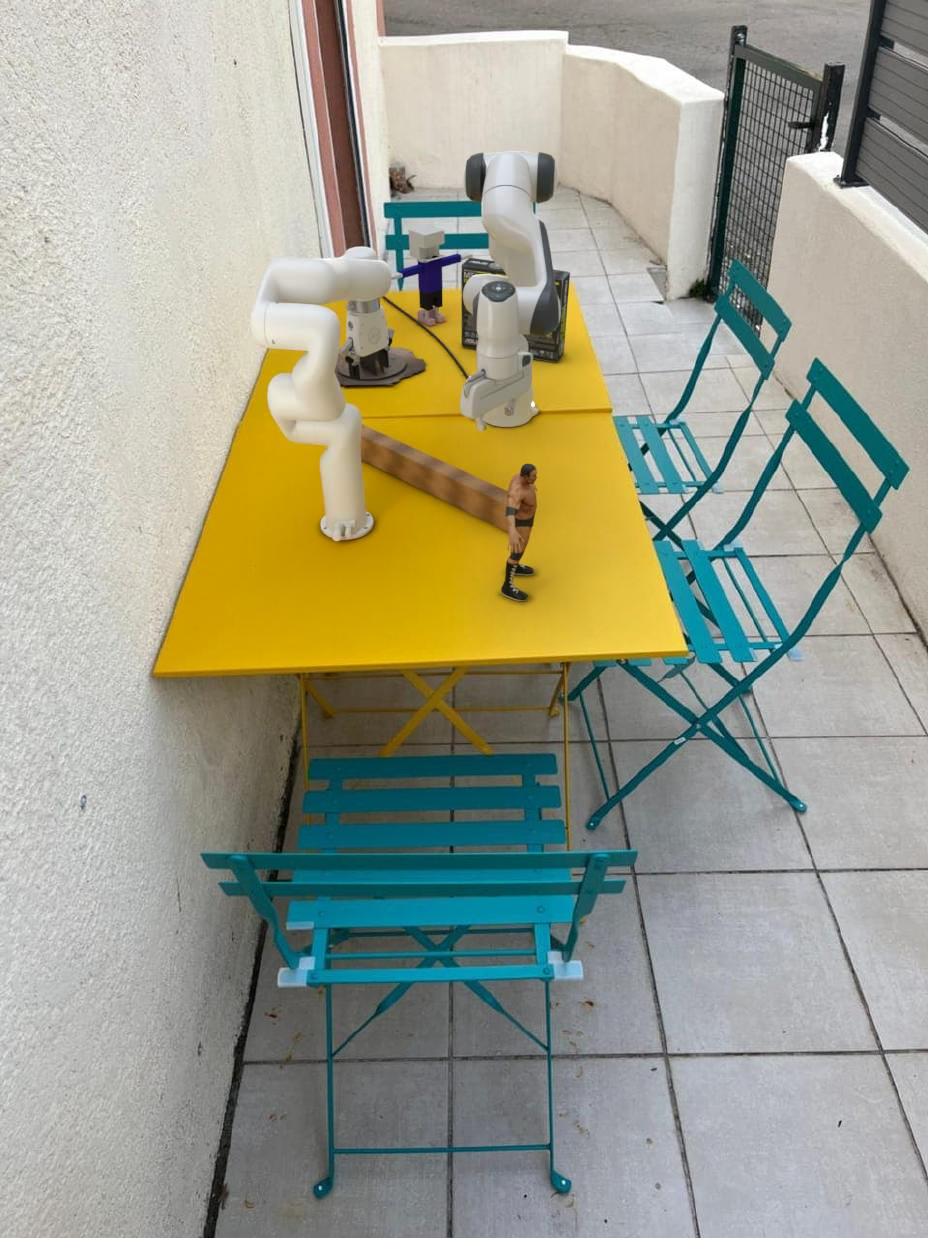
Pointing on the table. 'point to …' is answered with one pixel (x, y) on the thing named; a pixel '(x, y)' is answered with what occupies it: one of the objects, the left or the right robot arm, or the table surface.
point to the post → (435, 477)
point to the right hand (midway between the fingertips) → (495, 421)
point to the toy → (428, 270)
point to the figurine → (519, 526)
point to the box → (537, 345)
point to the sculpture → (380, 368)
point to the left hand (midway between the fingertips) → (369, 372)
